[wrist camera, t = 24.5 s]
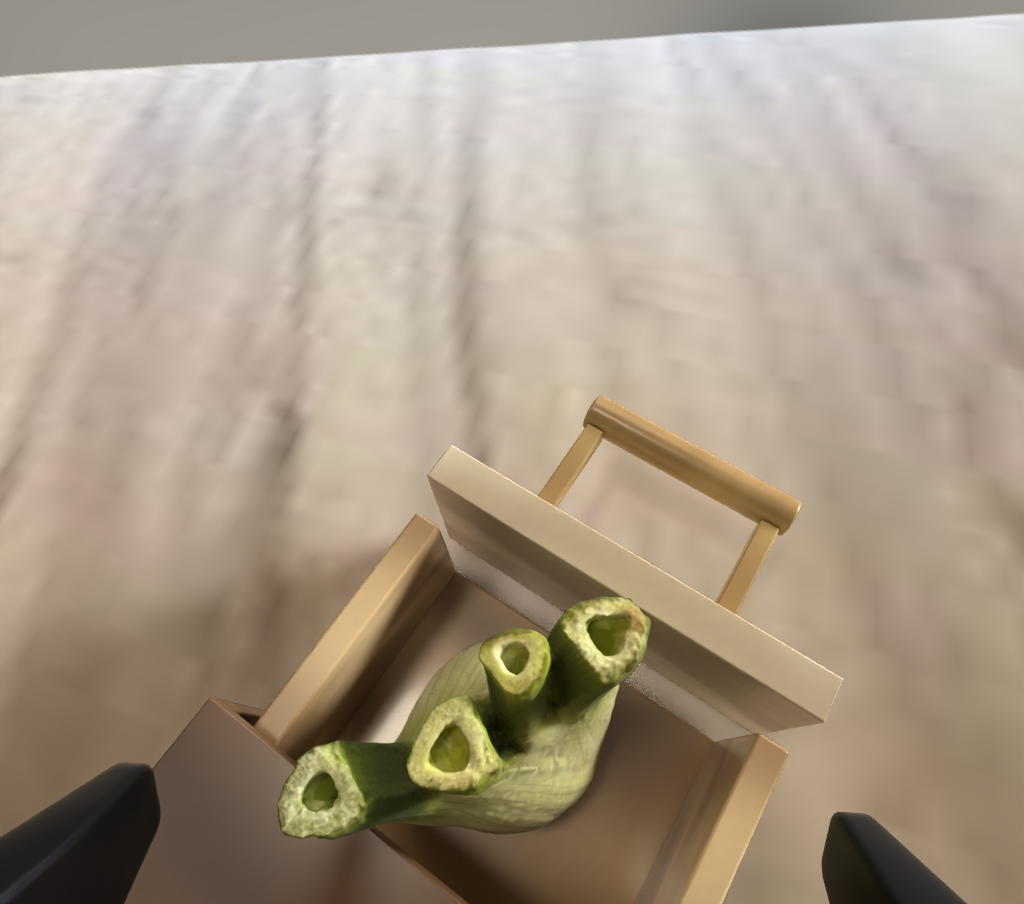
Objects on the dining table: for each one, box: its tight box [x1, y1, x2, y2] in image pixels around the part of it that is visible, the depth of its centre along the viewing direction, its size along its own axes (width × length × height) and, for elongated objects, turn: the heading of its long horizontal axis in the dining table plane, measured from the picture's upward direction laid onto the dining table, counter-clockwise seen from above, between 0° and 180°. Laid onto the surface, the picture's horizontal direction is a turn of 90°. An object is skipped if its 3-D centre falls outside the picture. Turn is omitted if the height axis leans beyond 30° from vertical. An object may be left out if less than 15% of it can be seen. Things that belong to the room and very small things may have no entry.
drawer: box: [253, 396, 843, 904], centre depth 18 cm, size 19×12×6 cm, turn 146°
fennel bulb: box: [277, 596, 651, 840], centre depth 15 cm, size 6×5×12 cm
